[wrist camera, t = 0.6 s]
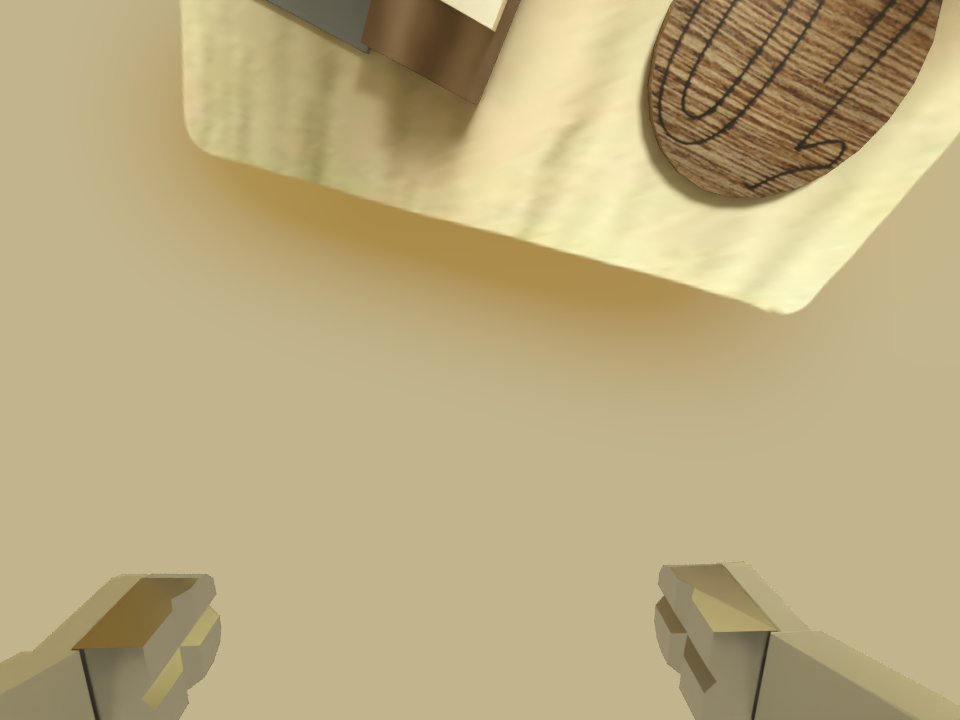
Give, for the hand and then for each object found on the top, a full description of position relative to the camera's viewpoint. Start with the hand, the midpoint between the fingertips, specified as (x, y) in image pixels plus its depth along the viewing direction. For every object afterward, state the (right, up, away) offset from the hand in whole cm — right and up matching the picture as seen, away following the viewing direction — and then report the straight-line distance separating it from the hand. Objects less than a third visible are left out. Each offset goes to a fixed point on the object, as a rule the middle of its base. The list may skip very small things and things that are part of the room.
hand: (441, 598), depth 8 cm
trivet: (+30, +34, +37) cm, 58 cm away
